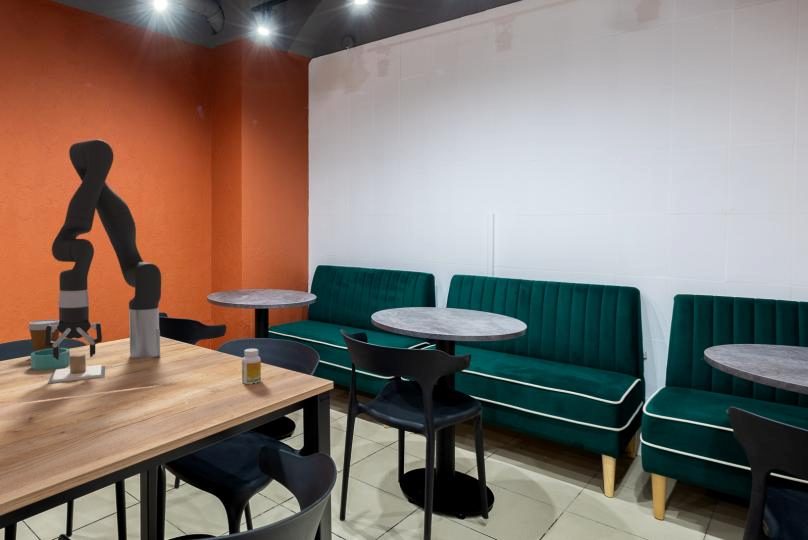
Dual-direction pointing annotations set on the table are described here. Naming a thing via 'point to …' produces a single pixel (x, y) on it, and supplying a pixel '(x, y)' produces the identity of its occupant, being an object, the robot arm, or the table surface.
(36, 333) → the disposable coffee cup
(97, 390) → the table surface
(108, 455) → the table surface
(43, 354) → the bowl
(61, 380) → the lid
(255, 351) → the supplement bottle
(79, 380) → the mat
